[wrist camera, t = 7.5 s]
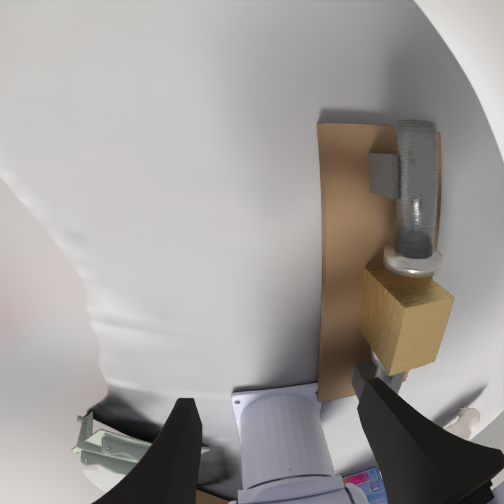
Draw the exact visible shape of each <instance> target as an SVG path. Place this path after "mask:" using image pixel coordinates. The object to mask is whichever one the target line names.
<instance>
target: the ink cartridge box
mask: <svg viewBox="0 0 504 504" xmlns="http://www.w3.org/2000/svg"><path fill="white" fill-rule="evenodd" d="M342 480H343V483H344V484H347V483H352V484H354V485H355V486H357V487H359V488H361V489H362V491H363V492H364V494H365V495H366V497H367V500H368V502H369V504H388V501H387V496H386V491H385V487H384V483H383V480H382V478H381V475H380V472H379V469H378V467H377V466H376V467H373V468H370V469H367V470H364V471H361V472H358V473H355V474H352V475H349V476H345V477H342Z"/></svg>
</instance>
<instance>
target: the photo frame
mask: <svg viewBox="0 0 504 504" xmlns="http://www.w3.org/2000/svg"><path fill="white" fill-rule="evenodd" d="M229 502H230V501H227V500H224V499H221V498H218V497H216V496H213V495H210V494H208V493H205V492H202V491H200V490H197V489H196V504H228V503H229Z"/></svg>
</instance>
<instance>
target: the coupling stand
mask: <svg viewBox="0 0 504 504" xmlns="http://www.w3.org/2000/svg"><path fill="white" fill-rule="evenodd" d="M317 133H318V146H319V161H320V180H321V205H322V302H321V327H320V345H319V360H318V373H317V383H318V391H317V394H318V395H317V401H318V403H319V402H324V401H329V400H334V399H339V398H344V397H348V396H353V395H357V397H358V400H359V401H360V398H361V395H362V392H363V388H364V385H365V382H366V380H368V379H372V378H376V377H379V378H380V379H381V380H382V381H383V382H385V383H386V384H387V385H388V386H389V387H390V388H391V389H392V390H393V391H394V392H395V393H397V394H398V392H399V389H400V387H401V384H402V382H404V381H405V380H406V378H407V375H408V372H409V370H407V371H404V372H401V373H398V374H394V375H391V376H388V374H387V372H386V371H385V369H384V367H383V366H382V364H381V362H380V361H379V359H378V358H377V356H376V354H375V353H374V351H373V350H372V348H371V346H370V345H369V343H368V342H367V340H366V338H365V337H364V335H363V334H362V332H361V331H360V329H359V327H358V326H359V318H360V309H361V300H362V290H363V278H364V267H372V266H380V265H384V266H385V267H386V268H387V269H388V270H390V271H392V272H394V273H397V274H399V275H403V276H408V277H417V278H422V277H429V278H431V279H432V276H433V275H435V274H437V273H438V272H439V270H440V265H441V259H442V254H441V252H440V251H439V250H437V241H438V232H439V220H440V206H441V139H440V132H436V124H435V123H432V122H426V121H415V120H400V121H394V126H383V125H369V124H348V123H320V124H317Z"/></svg>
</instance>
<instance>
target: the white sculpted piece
mask: <svg viewBox="0 0 504 504" xmlns="http://www.w3.org/2000/svg"><path fill="white" fill-rule="evenodd" d="M460 409H461V411H459V412H458V416H459V417H458V420H457V422H455V423H454V424H451V425H449V426H448V427H446V428H443V429H444V430H446V431H448V432H450V433H452V434H454V435H456V436H458V437H460V438H463V439H465V440H467V441H468V438H469V437H470V435H471V433H472V431H473V430H474V429H475V428H476V427H477V425H478V424H479V421H480V413H479V411H478V410H477V409H476V408H467V407H463V408H460Z"/></svg>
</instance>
